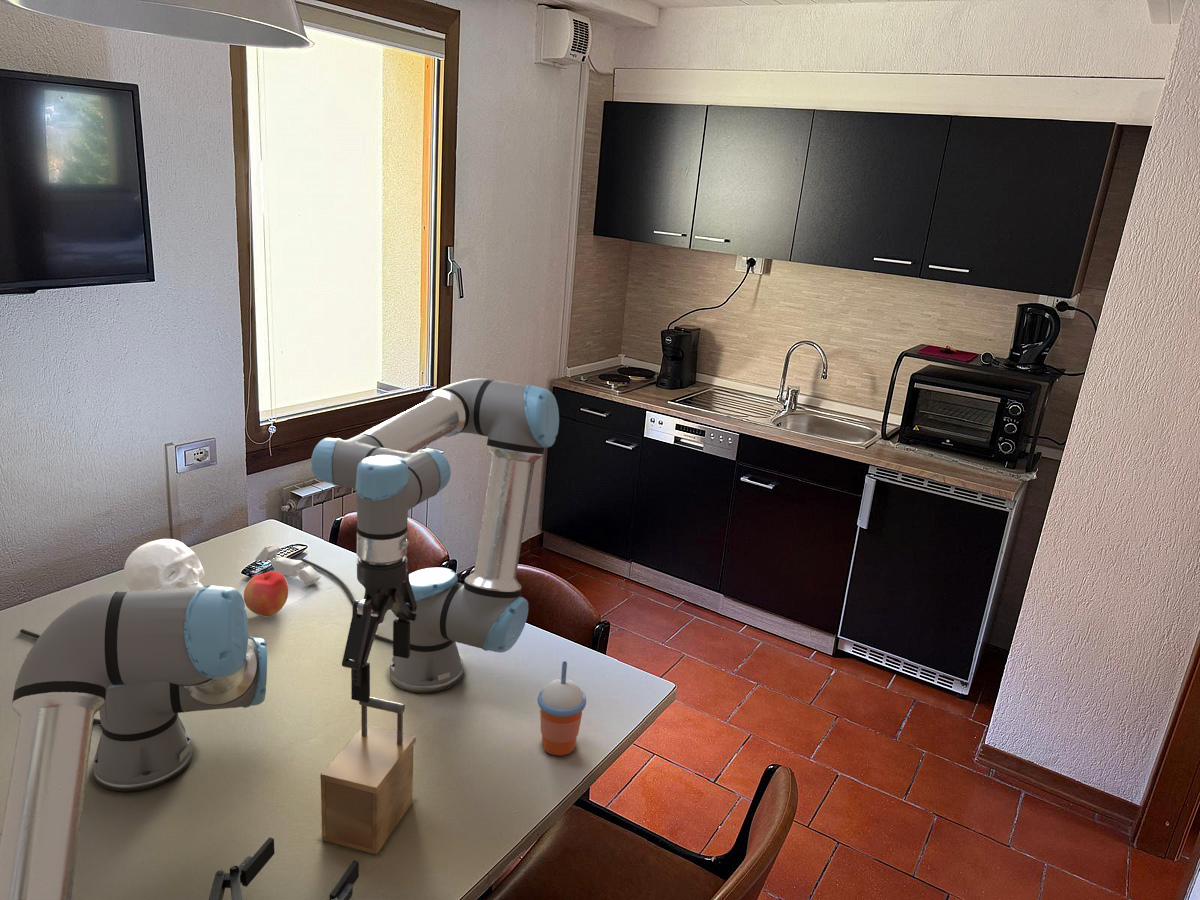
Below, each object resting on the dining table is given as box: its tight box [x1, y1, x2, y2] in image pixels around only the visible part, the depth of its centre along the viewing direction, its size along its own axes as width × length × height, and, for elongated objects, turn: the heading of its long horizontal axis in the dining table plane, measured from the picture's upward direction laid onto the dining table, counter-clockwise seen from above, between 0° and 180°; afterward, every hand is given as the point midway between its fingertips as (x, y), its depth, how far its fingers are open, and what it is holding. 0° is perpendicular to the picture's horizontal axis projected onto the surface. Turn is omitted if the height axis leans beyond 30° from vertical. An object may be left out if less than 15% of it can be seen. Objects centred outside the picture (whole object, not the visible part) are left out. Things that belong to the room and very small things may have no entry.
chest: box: [320, 745, 414, 855], centre depth 139 cm, size 13×10×11 cm
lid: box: [320, 696, 417, 794], centre depth 136 cm, size 14×10×9 cm
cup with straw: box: [537, 660, 587, 756], centre depth 160 cm, size 9×9×18 cm
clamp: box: [254, 544, 322, 587], centre depth 219 cm, size 20×4×7 cm, turn 62°
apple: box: [243, 570, 289, 618], centre depth 199 cm, size 10×10×10 cm
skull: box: [123, 538, 205, 591], centre depth 200 cm, size 13×22×16 cm, turn 73°
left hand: (313, 856), depth 123 cm, fingers open, 13 cm apart
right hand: (381, 677), depth 137 cm, fingers open, 13 cm apart
